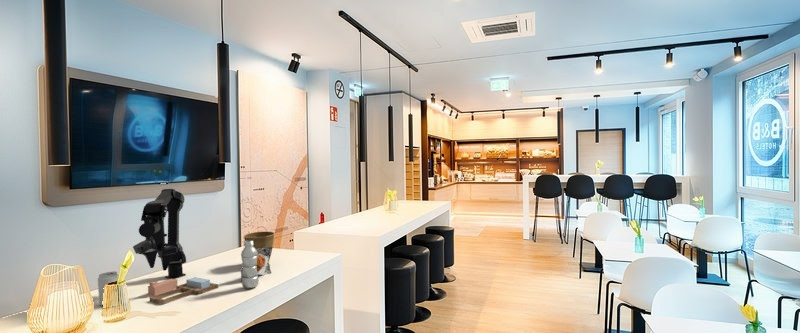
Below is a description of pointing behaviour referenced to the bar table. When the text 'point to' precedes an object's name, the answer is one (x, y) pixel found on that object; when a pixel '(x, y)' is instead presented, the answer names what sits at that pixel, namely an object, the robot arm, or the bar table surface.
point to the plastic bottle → (249, 265)
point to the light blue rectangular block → (198, 283)
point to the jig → (181, 288)
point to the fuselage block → (161, 287)
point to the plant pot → (261, 240)
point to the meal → (261, 262)
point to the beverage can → (105, 282)
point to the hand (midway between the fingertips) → (158, 269)
